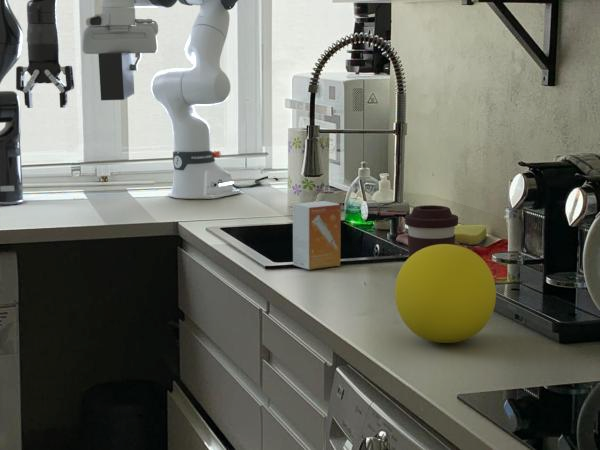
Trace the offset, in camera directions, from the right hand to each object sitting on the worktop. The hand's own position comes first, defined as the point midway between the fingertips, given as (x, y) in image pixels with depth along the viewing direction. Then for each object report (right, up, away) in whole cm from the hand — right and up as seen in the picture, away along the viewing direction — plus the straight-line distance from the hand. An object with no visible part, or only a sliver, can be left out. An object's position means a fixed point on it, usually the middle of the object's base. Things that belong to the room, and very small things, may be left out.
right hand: (121, 70), depth 285 cm
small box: (+52, -51, -68) cm, 100 cm away
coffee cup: (+74, -54, -87) cm, 126 cm away
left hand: (-15, -13, -22) cm, 29 cm away
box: (+1, -8, -9) cm, 12 cm away
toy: (+71, -60, -124) cm, 155 cm away
